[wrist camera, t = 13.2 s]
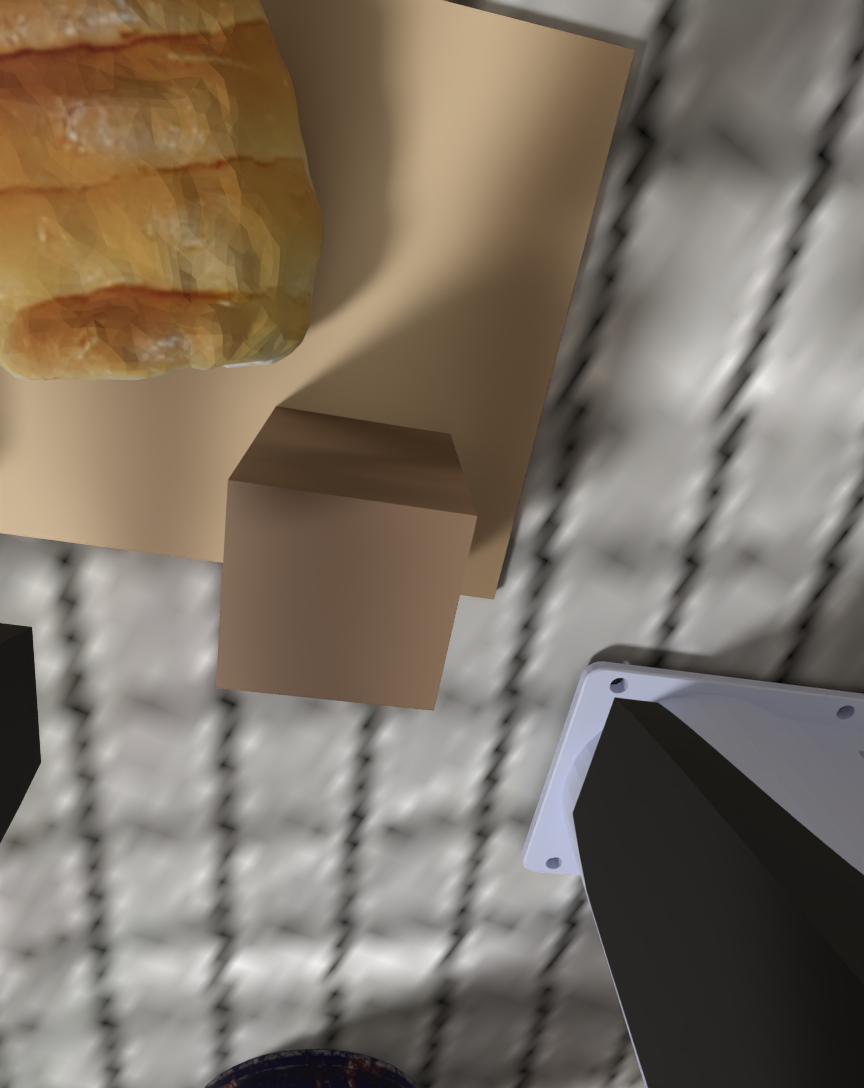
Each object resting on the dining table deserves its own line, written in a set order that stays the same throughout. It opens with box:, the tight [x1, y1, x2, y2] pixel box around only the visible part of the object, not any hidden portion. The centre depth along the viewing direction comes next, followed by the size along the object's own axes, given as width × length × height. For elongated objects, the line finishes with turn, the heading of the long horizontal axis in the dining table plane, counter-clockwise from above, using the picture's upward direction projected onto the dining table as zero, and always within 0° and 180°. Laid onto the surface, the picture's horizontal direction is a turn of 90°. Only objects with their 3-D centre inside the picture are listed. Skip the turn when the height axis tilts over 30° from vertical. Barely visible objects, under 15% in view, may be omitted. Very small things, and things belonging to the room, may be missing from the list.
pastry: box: [0, 0, 324, 381], centre depth 11 cm, size 9×7×4 cm
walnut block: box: [216, 406, 477, 711], centre depth 14 cm, size 4×4×5 cm
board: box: [0, 0, 635, 599], centre depth 13 cm, size 15×12×3 cm
